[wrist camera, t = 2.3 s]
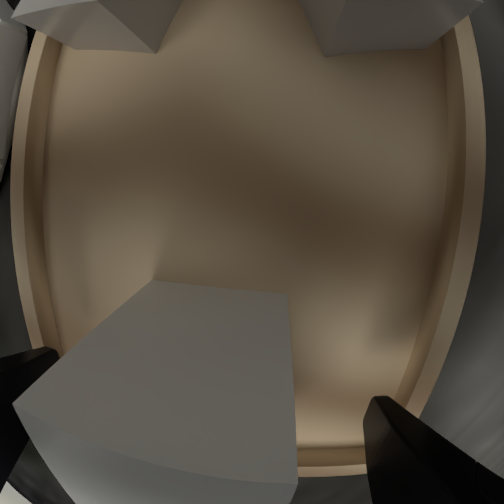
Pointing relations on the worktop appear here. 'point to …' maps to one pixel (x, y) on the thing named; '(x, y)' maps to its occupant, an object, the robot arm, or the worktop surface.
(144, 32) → the grey cubic piece
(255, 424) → the grey rectangular block
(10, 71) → the bowl
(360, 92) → the tray
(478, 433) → the worktop surface
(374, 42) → the grey piece
